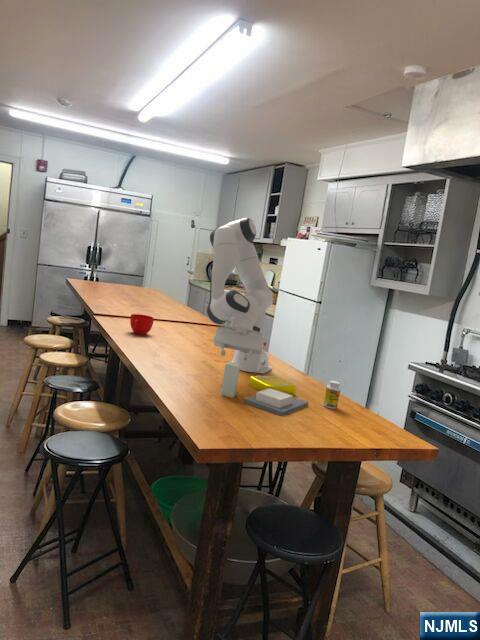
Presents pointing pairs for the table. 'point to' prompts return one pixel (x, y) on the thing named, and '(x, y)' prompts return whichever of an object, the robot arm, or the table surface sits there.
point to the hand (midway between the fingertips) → (234, 357)
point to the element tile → (272, 384)
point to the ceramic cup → (141, 323)
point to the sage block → (230, 379)
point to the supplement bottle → (332, 395)
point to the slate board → (277, 410)
